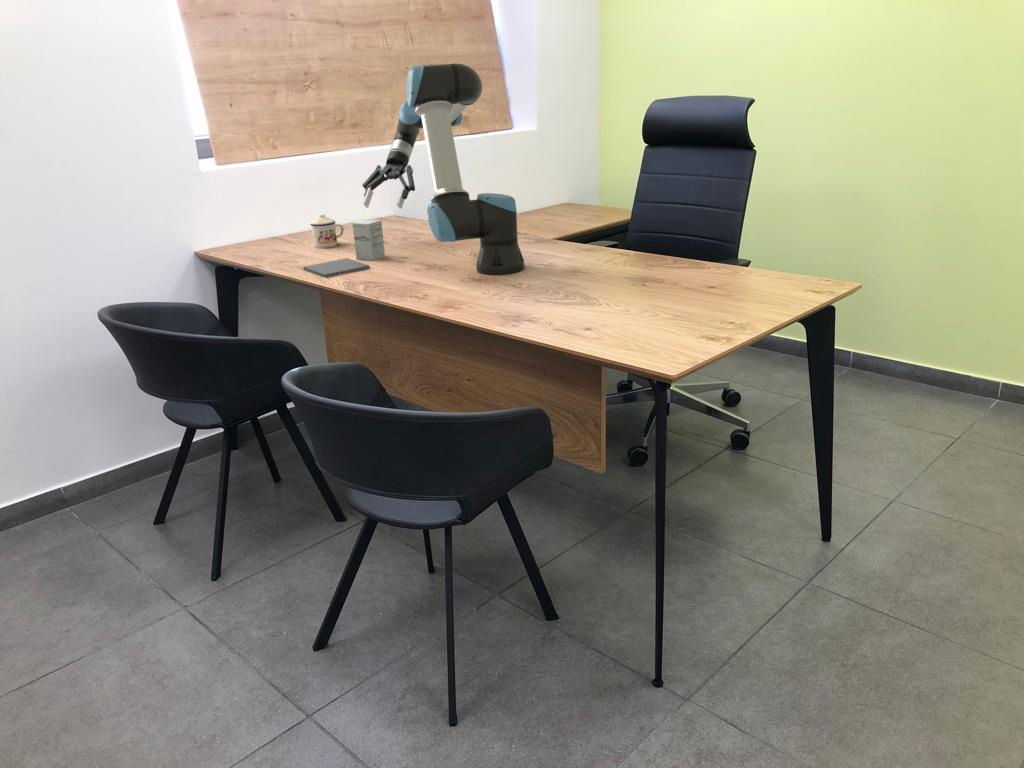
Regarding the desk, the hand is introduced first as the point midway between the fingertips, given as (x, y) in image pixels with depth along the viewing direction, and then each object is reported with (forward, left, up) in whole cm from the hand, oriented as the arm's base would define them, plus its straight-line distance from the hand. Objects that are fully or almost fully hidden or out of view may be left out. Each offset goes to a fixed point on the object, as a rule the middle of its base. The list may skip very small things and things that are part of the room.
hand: (382, 205), depth 283 cm
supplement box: (-6, +9, -16) cm, 19 cm away
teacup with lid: (+26, +9, -16) cm, 32 cm away
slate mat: (-12, +25, -16) cm, 32 cm away
